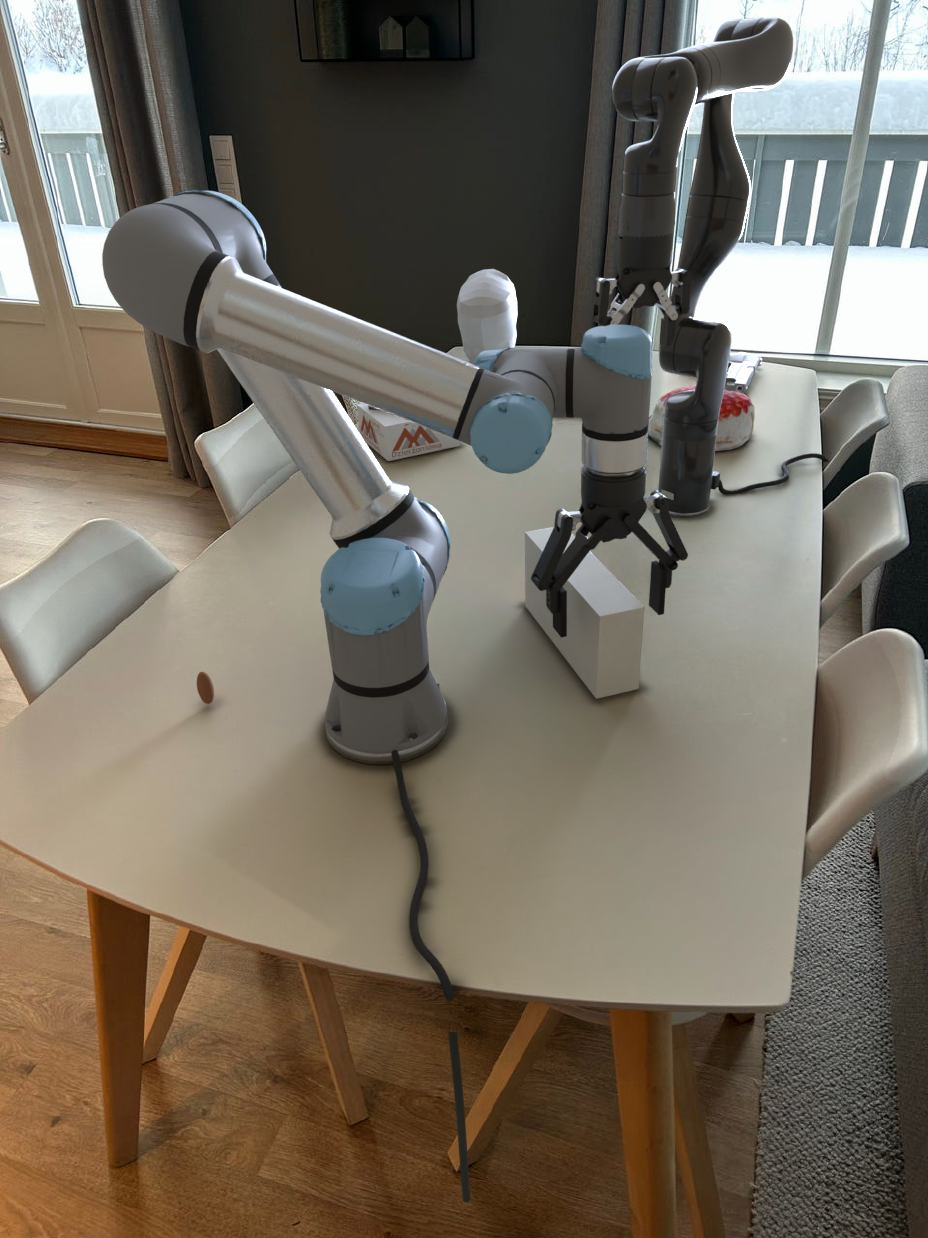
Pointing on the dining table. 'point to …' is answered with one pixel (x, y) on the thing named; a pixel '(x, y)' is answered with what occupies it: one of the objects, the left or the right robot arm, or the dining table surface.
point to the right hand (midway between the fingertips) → (638, 348)
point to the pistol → (741, 371)
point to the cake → (731, 424)
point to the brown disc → (205, 687)
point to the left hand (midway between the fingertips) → (608, 620)
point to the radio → (398, 434)
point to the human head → (487, 313)
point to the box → (591, 621)
